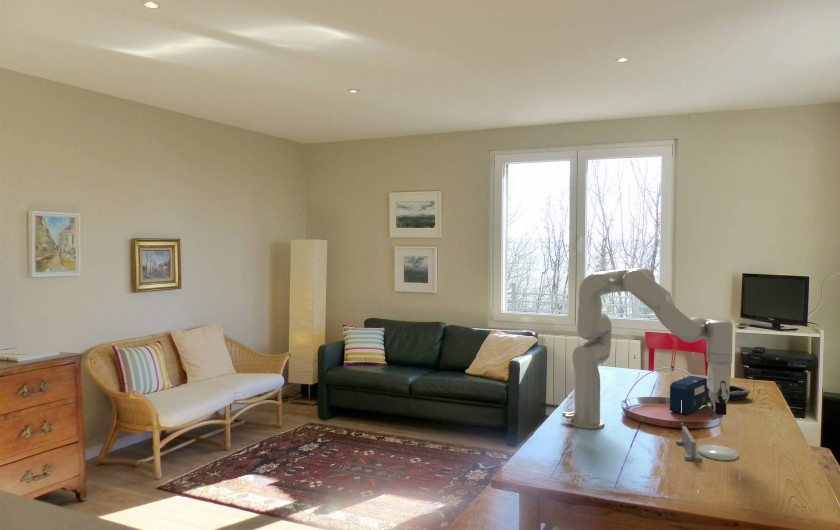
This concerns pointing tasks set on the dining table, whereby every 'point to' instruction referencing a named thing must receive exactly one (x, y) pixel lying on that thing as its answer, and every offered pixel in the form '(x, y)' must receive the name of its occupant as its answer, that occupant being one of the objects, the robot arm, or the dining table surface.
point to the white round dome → (717, 452)
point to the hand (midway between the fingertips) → (718, 411)
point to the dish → (736, 393)
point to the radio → (688, 394)
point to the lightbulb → (713, 400)
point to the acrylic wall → (688, 445)
